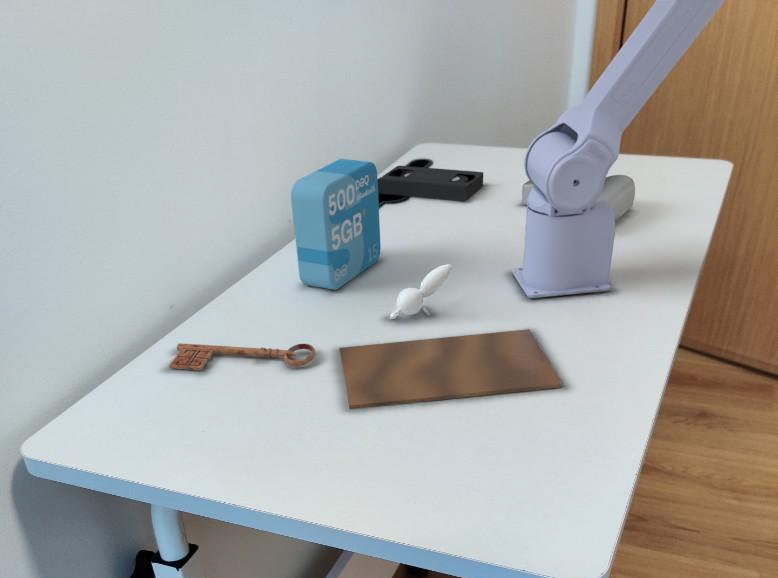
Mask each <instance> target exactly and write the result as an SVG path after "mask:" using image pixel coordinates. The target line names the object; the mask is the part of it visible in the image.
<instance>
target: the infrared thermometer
mask: <svg viewBox="0 0 778 578" xmlns="http://www.w3.org/2000/svg"><path fill="white" fill-rule="evenodd" d="M532 188H533V183H531V181H530V180H529V179H528V181H525V183H523V184H522V189H521V201H522V202H521V203H522V205H523V206H527V199H528V197H529V195H530V193H531V191H532ZM635 196H636V186H635V181H634V179H633V178H632V177H630V176H628V175H625V174H614V175H609V176H606V178H605V182H604V186H603V188H602V191H601V193H600V195H599V196H598V198H597V199H596V200H595V201H608V202H609V203H610V204H611V206H612V209H613V212H614V218H615V221H616V220H618V219H620V218H621V217H622V216H624V214H626V212H627V211H629V210H630V209H631V208H632V207H633V205H634V201H635V198H636V197H635Z"/></svg>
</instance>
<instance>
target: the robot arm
mask: <svg viewBox="0 0 778 578" xmlns="http://www.w3.org/2000/svg"><path fill="white" fill-rule="evenodd" d="M725 2H726V0H655V2H654V3H653V4H652V5H651V7H650V8H649V10H648V11H647V13H646V14H645V15H644V17H643V18H642V19H641V21H640V22H639V23H638V25H637V26H636V28H635V29H634V30H633V31H632V33H631V34H630V35H629V37H628V39H626V41H625V42H624V43H623V45H622V47H621V48H620V49H619V51H618V52H616V54H615V56H614V57H613V58H612V60H611V62H609V64H608V65H607V67H606V68H605V69H604V71H603V72H602V73H601V75H600V76H599V78H597V80H596V82H595V83H594V84H593V86H592V87H591V89H590V90H589V91H588V93H587V94H586V95H585V97H584V98H583V99H582V100H581V101H580V102H578V103H577V104H575V105H573V106H572V107H570V108H569V109H567V110H566V111H564V112H563V113H562V114H561V115H560V116H559V118H558V119H557V121H556V122H555V123H554V124H553V125H552V126H551V127H550V128H548V129H546V130H544V131H543V132H540V133H539V134H538V135H536V137H534V139H533V140H531V142H530V143H529V145H528V147H527V149H526V151H525V154H524V159H523V161H524V162H523V165H524V166H523V167H524V171H525V175H526V178H527V180H528V181H529V180H530V181H531V183H533V188H532V191H531V193H530V195H529V197H528V199H527V205H526V217H525V231H524V232H525V233H524V248H523V265H522V267H516V268H513V269H512V275H513V276H514V279H516V281H517V283H518V284H519V286H520V287H521V289H522V290H523V292H524V294H525V296H526V297H527V298H528V299H537V298H546V297H547V298H548V297H557V296H567V295H577V294H579V295H580V294H589V293H600V292H608V291H610V290H611V285H610V284H609V283H610V282H609V281H610V274H611V266H612V258H613V251H614V243H615V236H616V235H615V234H616V220H615V218H614V212H613V209H612V206H611V204H610V203H609V202H608V201H595V200H596V199H597V198H598V196H599V195H600V193H601V191H602V188H603V186H604V182H605V178H606V177H607V175H608V173H609V171H610V170H611V168H612V167H613V166H614V164H615V163H616V161H617V160H618V159H619V156H620V155H619V154H620V149H621V141H622V135H623V133H624V132H625V130H626V129H627V128H628V126H629V125H630V124H631V122H632V121H633V120H634V118H636V116H637V115H638V114H639V112H640V111H641V110H642V108H643V107H644V106H645V105H646V103H647V102H648V100H650V98H651V97H652V95H654V93H655V92H656V90H657V89H658V88H659V86H660V85H661V84H662V83H663V81H664V80H665V79H666V77H668V75H669V74H670V72H671V71H672V69H673V68H674V67H675V66H676V65H677V64H678V62H679V61H680V59H681V58H682V57H683V56H684V54H685V53H686V52H687V51H688V49H689V48H690V47H691V46H692V44H693V43H694V42H695V40H696V39H697V37H698V36H699V35H700V34H701V33H702V31H703V30H704V29H705V27H706V26H707V25H708V24H709V22H710V21H711V19H713V17H714V16H715V15H716V13H717V12H718V11H719V9H720V8H721V7H722V6H723V4H724V3H725Z"/></svg>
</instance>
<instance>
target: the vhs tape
mask: <svg viewBox="0 0 778 578" xmlns="http://www.w3.org/2000/svg"><path fill="white" fill-rule="evenodd" d="M377 179H378V195H389V196H390V195H392V196H403V197H413V198H415V197H416V198H424V199H433V200H435V199H436V200H444V201H445V200H446V201H456V202H465V203H466V202H467V201H468V200H469V199H470V198H472V197H473V196H474V195H475V194H476V193H477V192H479V190H481V189H482V188H483V187H484V172H483V171H474V170H462V169H446V168H437V167H436V168H435V167H421V166H411V165H410V166H408V165H397V166H395V167H393V168H392V169H391V170H389V171H388V172H386V173H385V174H383V175H382V176H379V177H377Z"/></svg>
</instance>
